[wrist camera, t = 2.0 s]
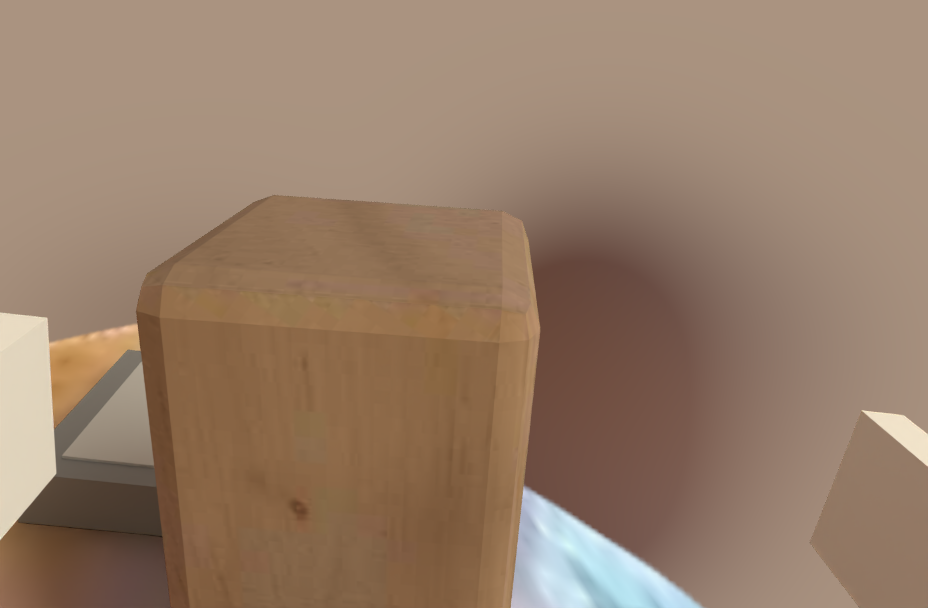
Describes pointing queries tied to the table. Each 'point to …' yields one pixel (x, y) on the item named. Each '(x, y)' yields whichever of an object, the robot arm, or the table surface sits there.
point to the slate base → (104, 460)
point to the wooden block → (342, 405)
